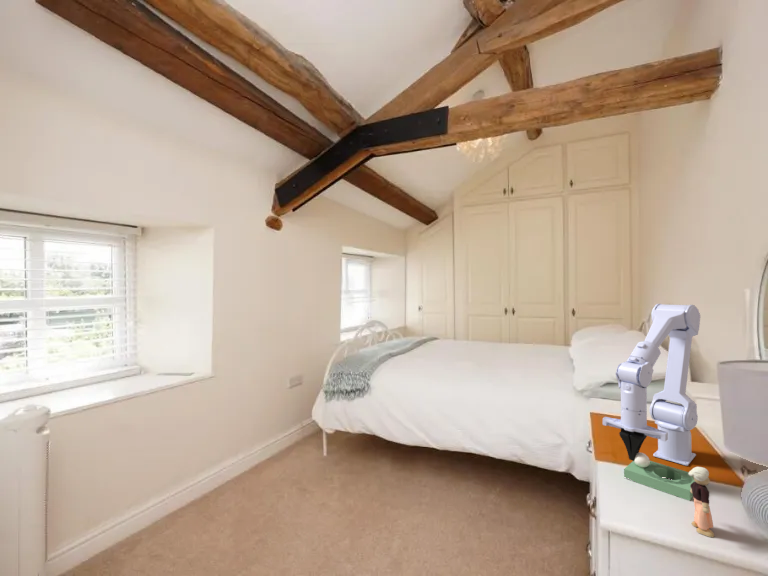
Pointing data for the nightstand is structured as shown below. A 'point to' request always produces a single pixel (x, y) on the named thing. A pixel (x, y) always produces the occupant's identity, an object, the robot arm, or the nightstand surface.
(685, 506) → the nightstand surface
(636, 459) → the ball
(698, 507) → the grandmother figurine
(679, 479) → the green
